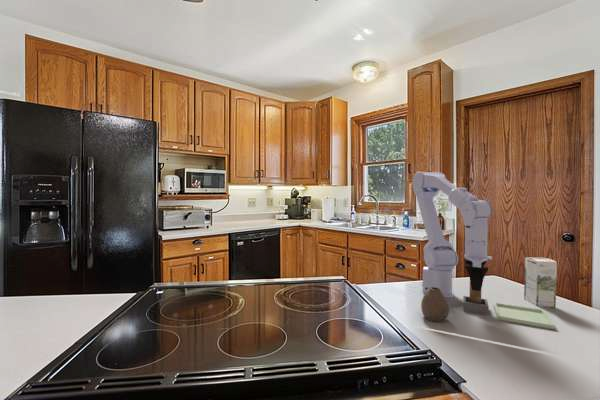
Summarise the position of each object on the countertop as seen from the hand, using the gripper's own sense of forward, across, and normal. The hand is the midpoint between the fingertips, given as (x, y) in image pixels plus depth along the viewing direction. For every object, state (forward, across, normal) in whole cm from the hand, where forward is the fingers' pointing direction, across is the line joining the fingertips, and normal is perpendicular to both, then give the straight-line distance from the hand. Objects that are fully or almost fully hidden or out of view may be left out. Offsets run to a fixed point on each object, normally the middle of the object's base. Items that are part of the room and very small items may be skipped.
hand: (475, 286), depth 87 cm
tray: (+7, 0, -11) cm, 13 cm away
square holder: (+7, 0, 0) cm, 7 cm away
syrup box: (+7, +16, -18) cm, 25 cm away
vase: (+8, -13, +10) cm, 18 cm away
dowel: (+7, 0, 0) cm, 7 cm away
